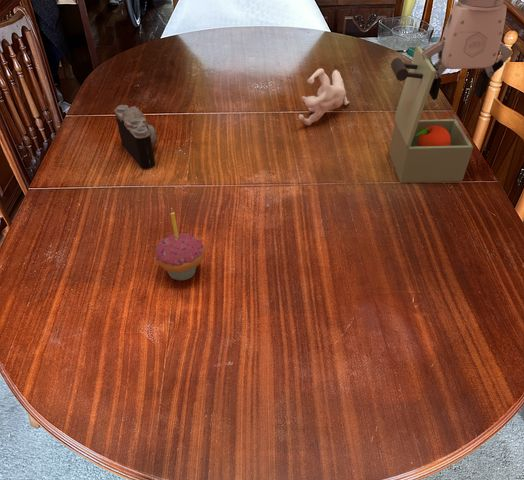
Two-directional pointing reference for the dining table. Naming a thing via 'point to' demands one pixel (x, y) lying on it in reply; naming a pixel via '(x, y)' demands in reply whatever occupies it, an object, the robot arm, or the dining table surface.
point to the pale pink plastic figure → (324, 96)
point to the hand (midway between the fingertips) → (455, 96)
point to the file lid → (412, 92)
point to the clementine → (434, 137)
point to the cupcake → (179, 253)
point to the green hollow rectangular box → (431, 155)
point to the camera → (136, 135)
